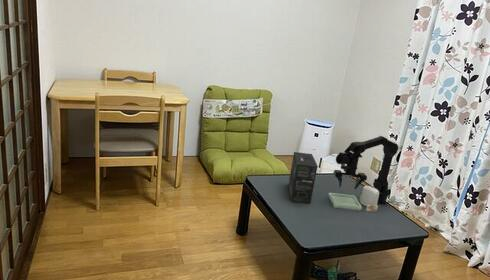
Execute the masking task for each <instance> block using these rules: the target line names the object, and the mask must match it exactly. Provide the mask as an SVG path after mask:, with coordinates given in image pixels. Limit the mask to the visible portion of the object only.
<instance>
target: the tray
mask: <svg viewBox="0 0 490 280" xmlns="http://www.w3.org/2000/svg"><path fill="white" fill-rule="evenodd" d="M328 198H329V201H330V202H331V204H332V207H333V208H336V209H342V210H351V211H362V208H363V207H362V204H361V203H360V201H359V200H358V198H357V197H356V196H355V195H352V194H343V193H335V192H328Z"/></svg>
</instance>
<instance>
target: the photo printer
mask: <svg viewBox="0 0 490 280" xmlns="http://www.w3.org/2000/svg"><path fill="white" fill-rule="evenodd" d="M361 195H362V196H361ZM361 195H360V196H361V201H359V203H360V205H363V206H364V207H367V205H375V206H378V204H377V202H378V197H379V191H378V190H377V189H375V188H374V187H373V186H370V185H364V186H363V188H362V192H361Z"/></svg>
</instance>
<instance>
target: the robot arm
mask: <svg viewBox="0 0 490 280" xmlns="http://www.w3.org/2000/svg"><path fill="white" fill-rule="evenodd" d="M378 146H382V151H383V159H382V162H381V166H380V170H379V171H380V172H379V175H378V177H377V178H374V180H373V183H372V185H373V186H372V187H373V188H375V189H377V190H378V191H379V197H378V202H377V205H378V204H379V205H387V203H386V202H387V198H388V197H390V195H391V191H390V190H389V181H388V177H389V172H390V169H391V167H392V166H391V165H392V162H393V158H394V156H396V154H397V153H398V151H399V144H398V143H396V142H393V141H391V140H389V139H388V138H387V137H384V136H383V135H379V136H377V137H375V138H371V139H368V140H365V141H352V142H351V143H349V145H348V147H346V149H345V150H344V151H343V152H339V153H338V154H337V156H336V157H335V162H336V164H338V165H340V169H341V170H339V169H334V170H333V173H332V174H333V176H334V177H335V178H336V179H337V180H338V187H339V188H341V187H342V182H343V177H351V178H356V181H355V184H354V190H357V189H358V187H359V185H361V184H362V183H363V182H365V181H367V180H368V176H367V175H366V173H365V172H358V173H357V170H358V164H359V160H360V158H363V156H362V154H363V153H364V152H366V150H369V149H372V148H374V147H378ZM342 170H343V172H342Z"/></svg>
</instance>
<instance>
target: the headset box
mask: <svg viewBox="0 0 490 280" xmlns="http://www.w3.org/2000/svg"><path fill="white" fill-rule="evenodd" d="M290 168H291V169H290V173H289V179H288V190H289V191H288V192H289V196H290V201H291V202H295V203H305V204H311V201H312V198H313V192H314V186H315V182H316V177H317V172H318V168H319V166H318V163H317V161H316V160H315V157H314V155H313V154H312V153H305V152H297V151H294V152H293V156H292V163H291V167H290Z"/></svg>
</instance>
